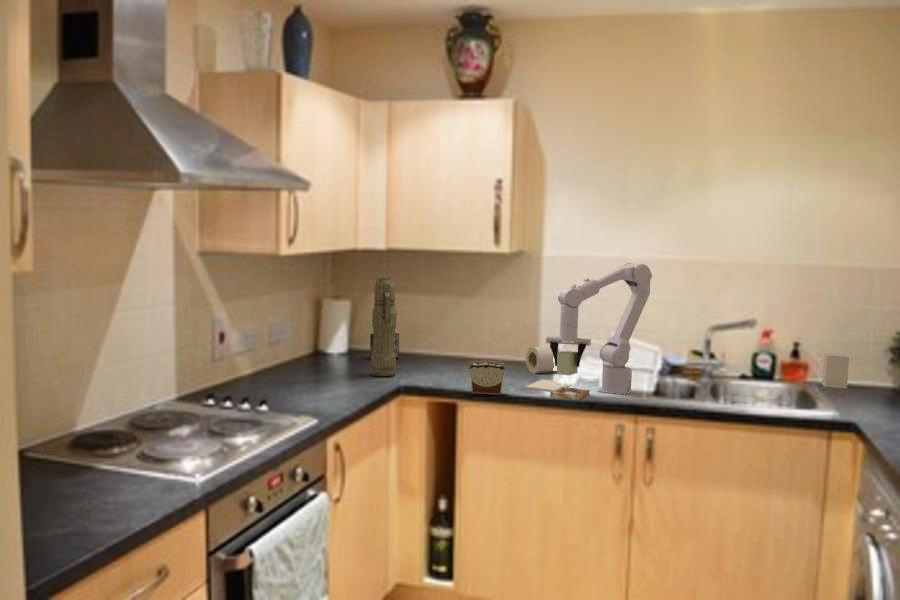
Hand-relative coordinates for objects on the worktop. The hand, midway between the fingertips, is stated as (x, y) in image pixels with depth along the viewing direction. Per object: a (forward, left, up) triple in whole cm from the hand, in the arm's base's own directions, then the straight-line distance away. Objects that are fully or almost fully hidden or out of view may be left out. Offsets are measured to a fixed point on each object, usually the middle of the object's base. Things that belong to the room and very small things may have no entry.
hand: (567, 365), depth 259 cm
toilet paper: (+21, -32, -10) cm, 40 cm away
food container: (+23, +13, -10) cm, 28 cm away
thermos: (+68, +7, -10) cm, 69 cm away
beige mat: (+9, -7, -9) cm, 15 cm away
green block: (0, 0, -2) cm, 3 cm away
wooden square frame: (-2, +2, -9) cm, 10 cm away
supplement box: (-77, -65, -10) cm, 101 cm away
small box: (+86, -22, -10) cm, 89 cm away
